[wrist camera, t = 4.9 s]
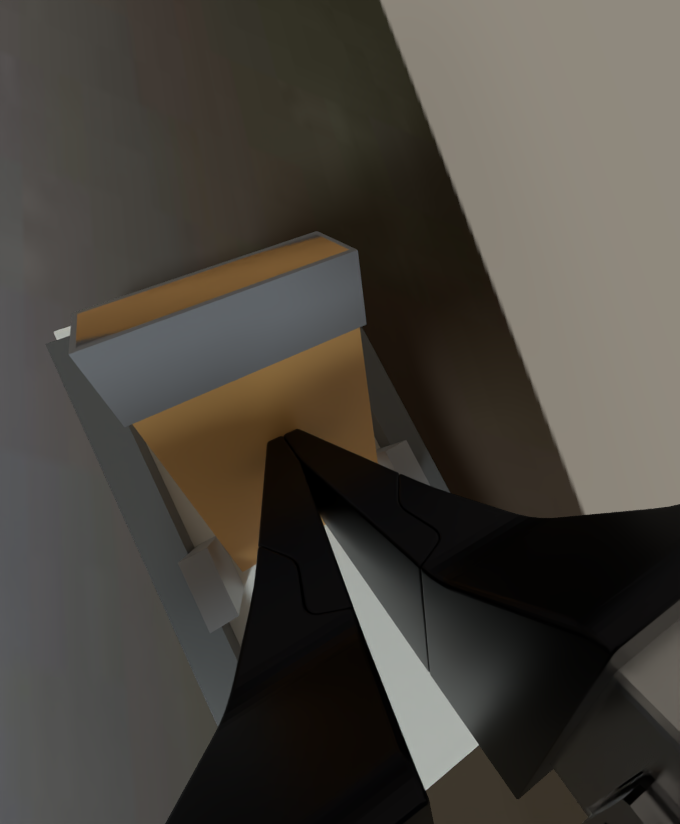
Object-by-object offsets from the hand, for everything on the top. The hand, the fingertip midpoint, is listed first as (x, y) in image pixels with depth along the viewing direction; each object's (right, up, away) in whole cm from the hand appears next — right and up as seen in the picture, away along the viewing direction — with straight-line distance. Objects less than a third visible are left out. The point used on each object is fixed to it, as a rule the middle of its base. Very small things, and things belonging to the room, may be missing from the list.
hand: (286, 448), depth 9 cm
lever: (0, -3, +3) cm, 4 cm away
